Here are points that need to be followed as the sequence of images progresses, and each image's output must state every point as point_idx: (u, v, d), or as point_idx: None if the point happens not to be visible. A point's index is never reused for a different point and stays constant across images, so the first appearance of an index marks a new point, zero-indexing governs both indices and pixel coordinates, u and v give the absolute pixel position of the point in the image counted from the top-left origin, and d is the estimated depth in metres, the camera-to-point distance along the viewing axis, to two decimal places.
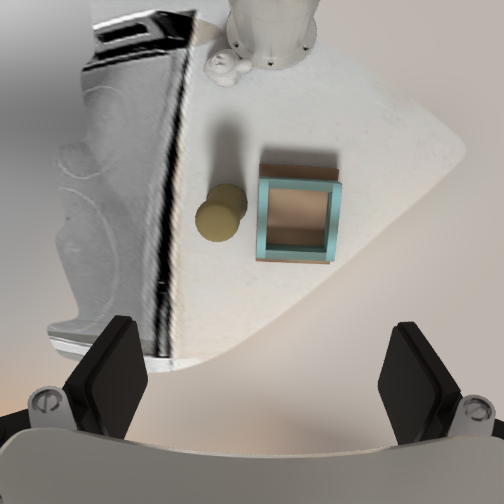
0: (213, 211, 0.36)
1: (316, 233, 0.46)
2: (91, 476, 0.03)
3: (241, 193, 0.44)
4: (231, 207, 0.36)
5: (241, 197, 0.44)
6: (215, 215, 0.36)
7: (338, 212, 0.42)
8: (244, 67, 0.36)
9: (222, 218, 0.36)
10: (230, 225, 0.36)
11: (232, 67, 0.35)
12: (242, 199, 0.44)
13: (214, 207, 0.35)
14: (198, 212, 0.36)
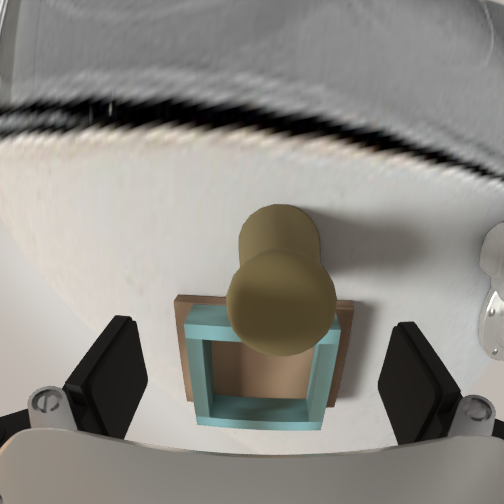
0: (314, 317, 0.13)
1: (234, 387, 0.27)
2: (91, 476, 0.03)
3: None
4: None
5: None
6: (303, 323, 0.13)
7: (276, 429, 0.25)
8: None
9: (294, 337, 0.14)
10: (274, 352, 0.14)
11: None
12: None
13: (322, 318, 0.14)
14: (309, 272, 0.13)
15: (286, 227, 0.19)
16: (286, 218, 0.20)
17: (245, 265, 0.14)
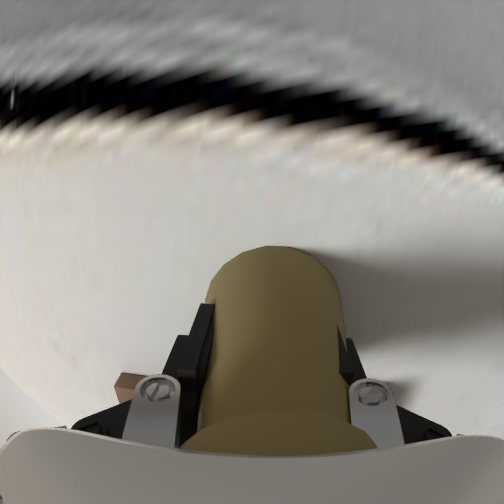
0: None
1: None
2: (91, 476, 0.03)
3: None
4: None
5: None
6: None
7: None
8: None
9: None
10: None
11: None
12: None
13: None
14: None
15: (289, 312, 0.09)
16: (287, 284, 0.11)
17: None
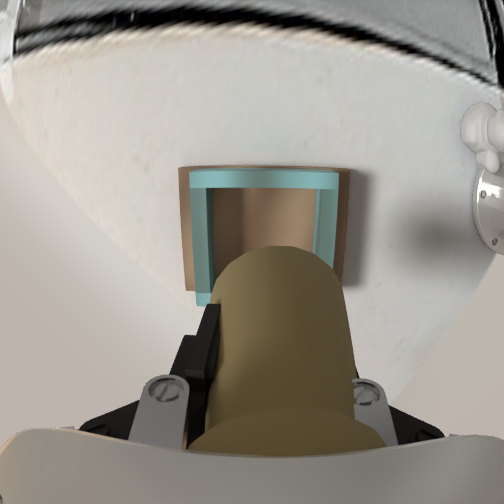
0: None
1: None
2: (91, 476, 0.03)
3: None
4: None
5: None
6: None
7: None
8: (491, 161, 0.21)
9: None
10: None
11: (500, 147, 0.19)
12: None
13: None
14: None
15: (296, 311, 0.09)
16: (293, 283, 0.11)
17: None
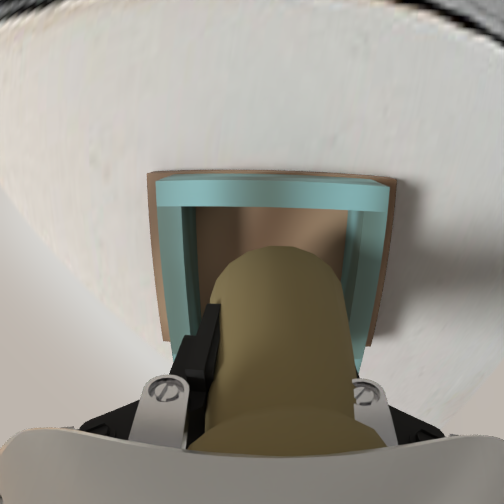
0: None
1: None
2: (91, 476, 0.03)
3: None
4: None
5: None
6: None
7: None
8: None
9: None
10: None
11: None
12: None
13: None
14: None
15: (296, 311, 0.09)
16: (293, 283, 0.11)
17: None
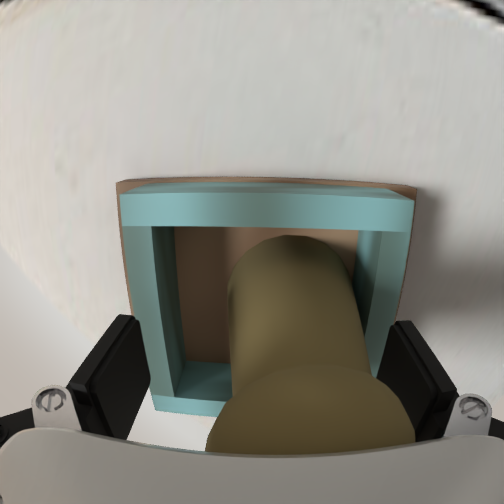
0: None
1: (218, 345, 0.17)
2: (91, 476, 0.03)
3: None
4: None
5: None
6: None
7: None
8: None
9: None
10: None
11: None
12: None
13: None
14: (384, 440, 0.05)
15: (312, 289, 0.10)
16: (308, 266, 0.12)
17: (242, 416, 0.06)
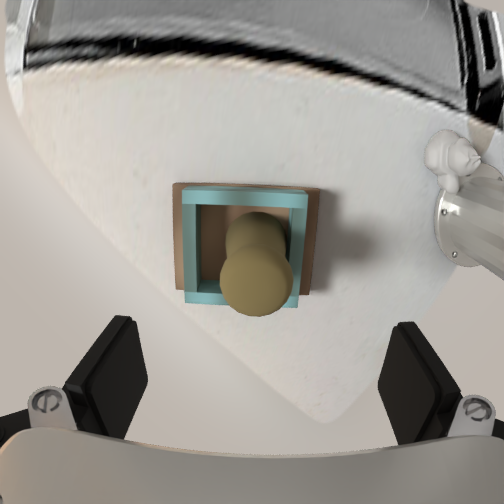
0: (277, 288, 0.21)
1: (219, 269, 0.33)
2: (91, 476, 0.03)
3: None
4: (279, 308, 0.23)
5: None
6: (270, 292, 0.21)
7: None
8: (451, 184, 0.27)
9: (264, 302, 0.22)
10: (251, 312, 0.22)
11: (458, 172, 0.25)
12: None
13: (283, 290, 0.21)
14: (274, 259, 0.21)
15: (261, 229, 0.27)
16: (261, 222, 0.28)
17: (233, 254, 0.22)
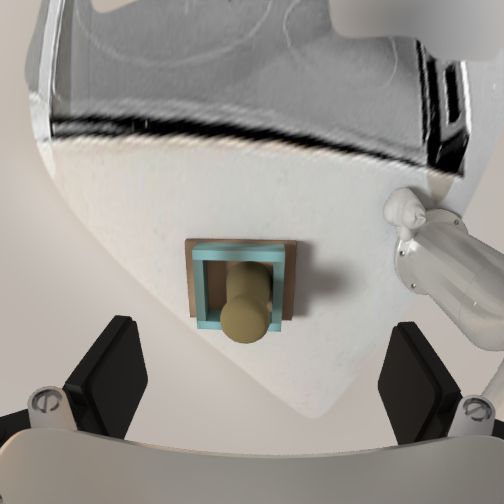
0: (257, 326, 0.31)
1: (222, 302, 0.43)
2: (91, 476, 0.03)
3: None
4: None
5: None
6: (253, 328, 0.31)
7: None
8: (404, 234, 0.36)
9: (250, 335, 0.32)
10: (241, 341, 0.32)
11: (407, 227, 0.34)
12: None
13: (262, 327, 0.32)
14: (255, 307, 0.31)
15: (250, 279, 0.37)
16: (251, 272, 0.38)
17: (228, 303, 0.32)
